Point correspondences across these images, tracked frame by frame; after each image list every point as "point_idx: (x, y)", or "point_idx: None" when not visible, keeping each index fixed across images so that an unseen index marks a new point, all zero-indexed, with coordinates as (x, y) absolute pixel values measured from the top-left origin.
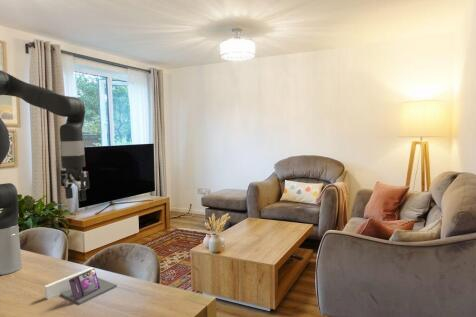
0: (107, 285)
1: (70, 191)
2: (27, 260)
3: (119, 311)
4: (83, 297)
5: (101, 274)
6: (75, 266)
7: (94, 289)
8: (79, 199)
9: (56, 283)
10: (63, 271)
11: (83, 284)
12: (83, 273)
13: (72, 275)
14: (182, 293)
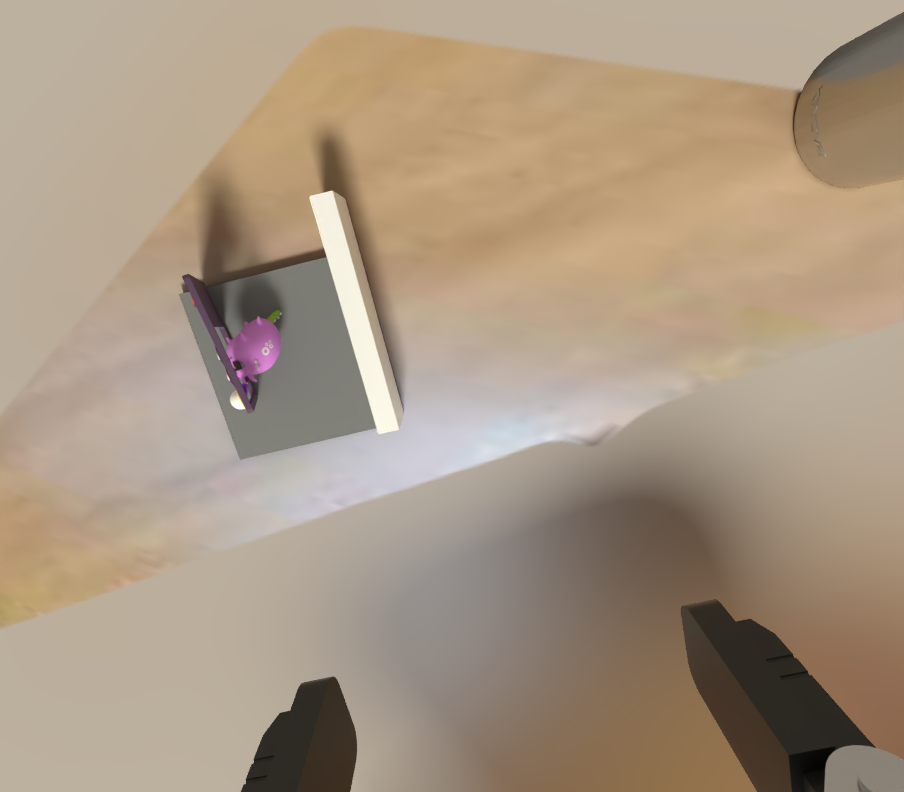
0: (262, 430)
1: (748, 756)
2: None
3: (32, 388)
4: None
5: (415, 454)
6: (606, 399)
7: (260, 378)
8: (309, 693)
9: (323, 244)
10: (589, 338)
11: (232, 339)
12: (219, 353)
13: (363, 329)
14: (27, 600)
